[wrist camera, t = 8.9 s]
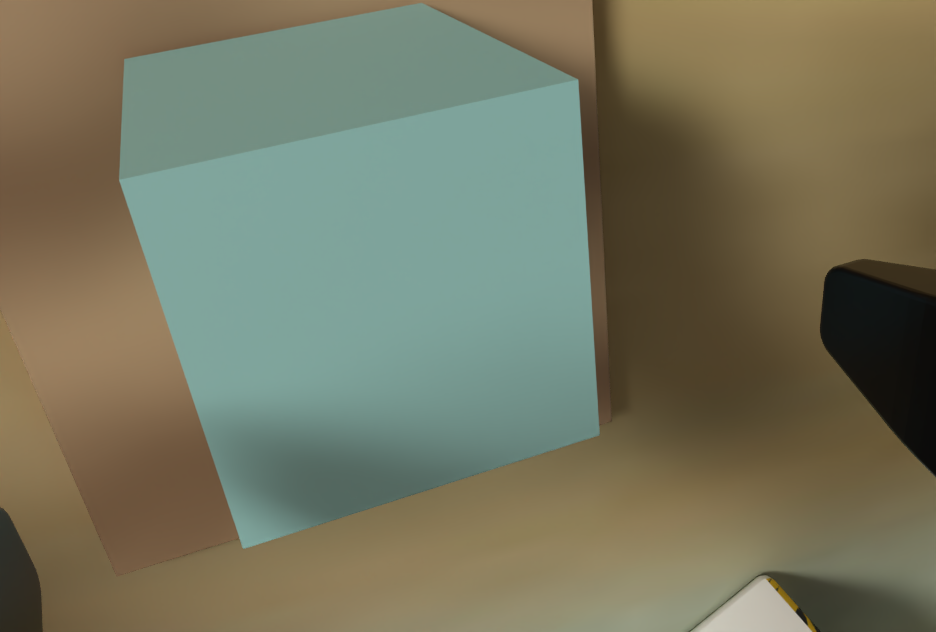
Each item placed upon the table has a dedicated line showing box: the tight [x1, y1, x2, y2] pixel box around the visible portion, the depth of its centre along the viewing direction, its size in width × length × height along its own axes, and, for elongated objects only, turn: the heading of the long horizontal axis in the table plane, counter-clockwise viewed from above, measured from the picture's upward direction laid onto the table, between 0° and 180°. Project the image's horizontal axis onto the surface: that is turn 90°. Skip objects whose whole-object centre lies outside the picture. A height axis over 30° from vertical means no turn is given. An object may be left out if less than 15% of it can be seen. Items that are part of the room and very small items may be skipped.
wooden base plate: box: [0, 0, 612, 576], centre depth 14 cm, size 16×12×7 cm
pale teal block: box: [119, 3, 600, 549], centre depth 14 cm, size 5×5×7 cm
